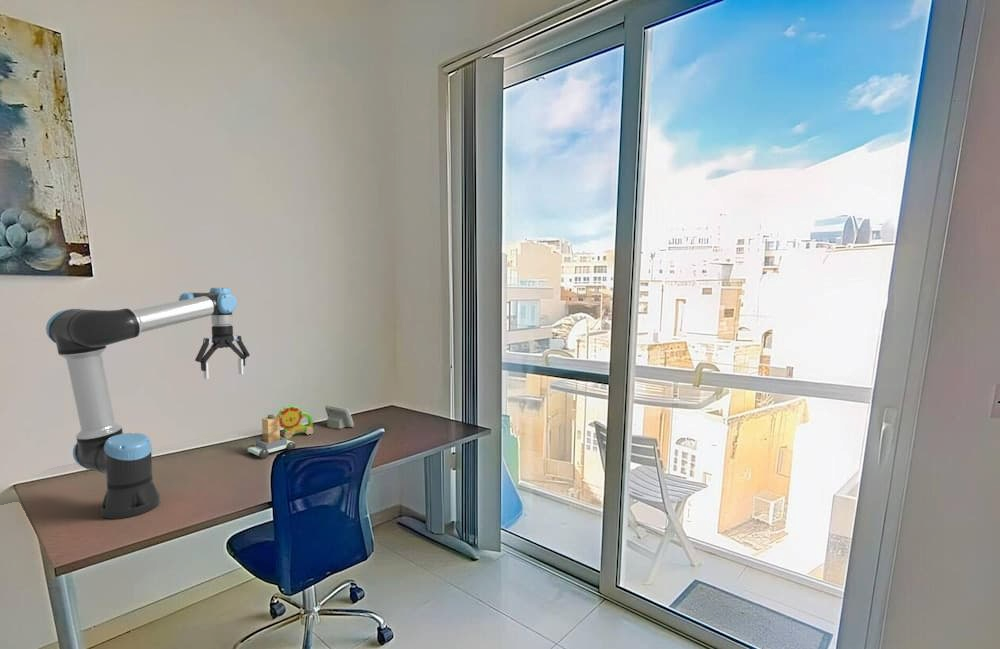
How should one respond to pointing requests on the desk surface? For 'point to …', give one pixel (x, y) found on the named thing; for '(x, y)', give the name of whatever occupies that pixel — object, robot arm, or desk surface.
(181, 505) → the desk surface
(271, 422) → the tall wooden block
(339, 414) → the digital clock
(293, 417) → the toy lion
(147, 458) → the robot arm
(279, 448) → the chassis
